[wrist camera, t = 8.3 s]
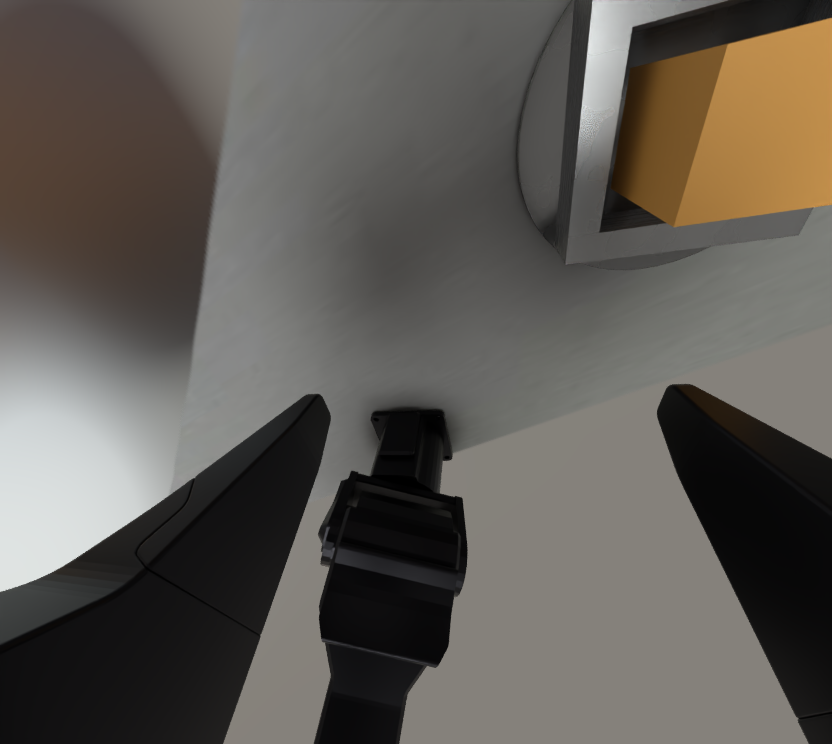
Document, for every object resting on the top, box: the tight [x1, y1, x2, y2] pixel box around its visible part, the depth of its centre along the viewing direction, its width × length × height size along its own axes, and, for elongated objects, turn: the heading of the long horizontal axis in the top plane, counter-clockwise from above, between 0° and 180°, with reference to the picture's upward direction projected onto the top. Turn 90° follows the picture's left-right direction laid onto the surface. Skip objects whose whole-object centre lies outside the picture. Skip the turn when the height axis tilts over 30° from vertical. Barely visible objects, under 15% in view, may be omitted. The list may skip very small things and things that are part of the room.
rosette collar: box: [517, 0, 832, 270], centre depth 12 cm, size 12×12×3 cm
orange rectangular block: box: [611, 18, 832, 227], centre depth 10 cm, size 4×4×6 cm
